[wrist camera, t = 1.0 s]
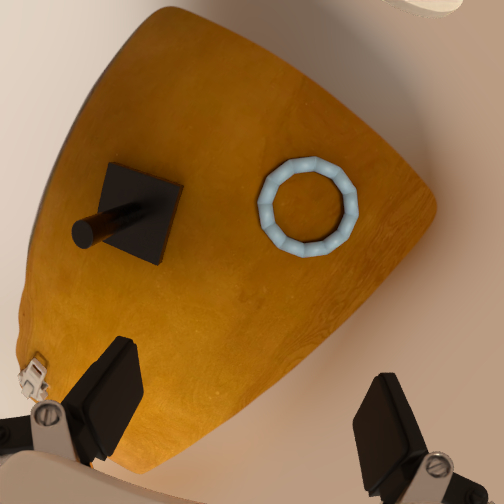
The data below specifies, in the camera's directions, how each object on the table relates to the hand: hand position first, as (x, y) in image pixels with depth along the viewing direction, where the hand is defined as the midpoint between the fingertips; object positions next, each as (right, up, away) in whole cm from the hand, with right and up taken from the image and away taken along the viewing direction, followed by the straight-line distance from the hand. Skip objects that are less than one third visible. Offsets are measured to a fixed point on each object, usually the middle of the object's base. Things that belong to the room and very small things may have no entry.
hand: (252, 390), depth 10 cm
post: (-13, +10, +20) cm, 25 cm away
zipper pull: (-44, -20, +32) cm, 58 cm away
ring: (+6, +9, +17) cm, 21 cm away
